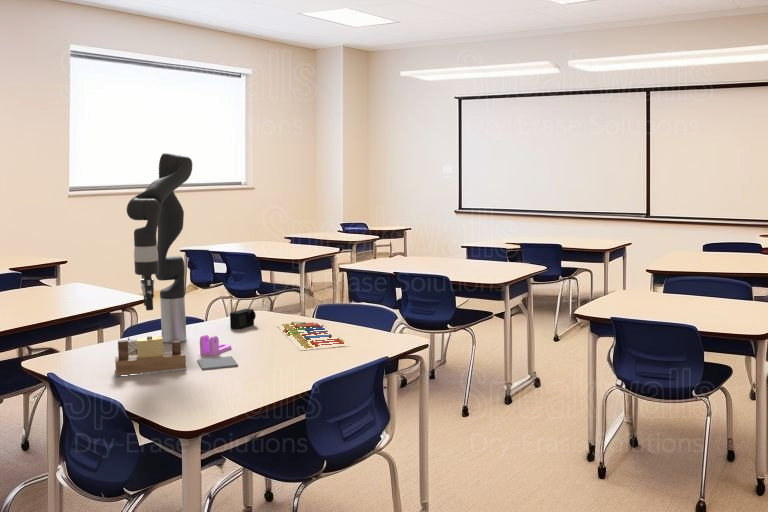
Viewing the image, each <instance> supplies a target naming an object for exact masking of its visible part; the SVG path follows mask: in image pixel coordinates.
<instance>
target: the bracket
mask: <svg viewBox="0 0 768 512" xmlns="http://www.w3.org/2000/svg"><path fill="white" fill-rule="evenodd" d="M231 349H232V344H230V343H220V339H219V337H218V336H217V335H211V336H210V337H209V335H208V334H202V335H201V336H200V338H199V350H200V351H199V354H200V355H203V356H211V357H213V356H216V355H218V354H221V353H224V352H226V351H229V350H231Z"/></svg>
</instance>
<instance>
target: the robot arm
mask: <svg viewBox="0 0 768 512" xmlns="http://www.w3.org/2000/svg"><path fill="white" fill-rule="evenodd" d="M158 163H159V164H158V178H157V179H155V180H154V181H152V182H151V183H150V184H149V185H148V186H147V187H146V189H145V190H144V191H142V192H140V193H138V194H137V195H135V196H134V197H132V198H131V199H130V200H129V201H128V202H127V206H126V214H127V216H128V217H129V219H131V220H133V221H146V225H145V226H143V227H137V228H136V229H134V231H133V243H134V250H133V259H134V273H135V275H137V276H141V278H140V286H141V291H142V295H143V306H144V307H145V310H146V311H153V310H154V298H155V297H154V296H155V295H154V293H155V279H154V278H152V275H155V278H156V280H158V281H163V282H164V281H173V283H171V284H169V286H167V287H165V288H162V289H161V290H160V291H159V299H160V300H159V303H160V322H161V325H160V326H161V336H162V338H163V343H169V344H172V342H173V341H180V342H184V341H186V340H187V322H186V318H187V317H186V301H185V300H186V299H185V296H186V295H185V293H186V291H185V287H186V286H185V276H186V275H185V274H186V273H185V272H186V270H185V269H186V268H185V260H184V258H183V257H182V256H181V255H170V256H167V255H168V251H169V250H170V247H171V246H172V245H173V243H174V242H175V241H176V239H177V238H178V237H179V235H180V234H181V232H182V230H183V228H184V217H185V212H184V209H183V208H184V207H183V206H182V204H181V202H180V200H179V199H178V197H177V195H176V193H175V190H176V189H178V188H179V187H180V186H182V185H183V184H184V183H186V181H188V180H189V178H190V177H191V174H192V171H193V161H192V158H190V157H189V156H186V155H181V154H176V153H171V152H163V153H162V154H161V155H160V157H159V161H158Z"/></svg>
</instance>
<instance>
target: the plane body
mask: <svg viewBox="0 0 768 512" xmlns="http://www.w3.org/2000/svg"><path fill="white" fill-rule="evenodd" d="M181 344H182V343H181V342H180V341H173V342H172V343H171V350H172V351H163V355H164V357H154V358H143V359H138V356H137V355H130V356H128V339H120V340H117V353H118V356H114V357H115V358H114V361H115V369H114V371H115V372H116V373H115V377H116V376H121V375H130V374H141V373H142V374H143V375H145V374H144V373H152V374H158V373H157V372H162V373H169V372H170V371H171V372H178V371H187V369H188V367H187V363H186V362H187V361H186V360H187V359H186V357H187V356H186V354H185V352H184V350H182V349H181V346H182V345H181Z"/></svg>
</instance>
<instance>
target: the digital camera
mask: <svg viewBox="0 0 768 512" xmlns="http://www.w3.org/2000/svg"><path fill="white" fill-rule="evenodd" d="M229 318H230V319H229V320H230V321H229V322H230V329H231V330H237V331H238V330H243V329H246V328H248V327H251V326H252V327H253V326H254V325H255V320H256V312H255V310H254V309H253V308H244V309H239V310H235V311H232V312H230V313H229Z"/></svg>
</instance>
